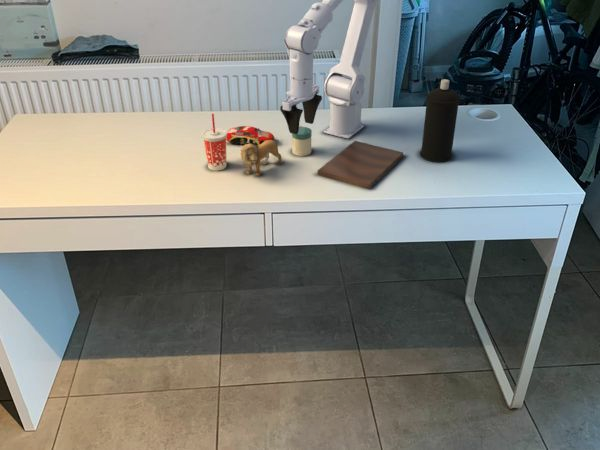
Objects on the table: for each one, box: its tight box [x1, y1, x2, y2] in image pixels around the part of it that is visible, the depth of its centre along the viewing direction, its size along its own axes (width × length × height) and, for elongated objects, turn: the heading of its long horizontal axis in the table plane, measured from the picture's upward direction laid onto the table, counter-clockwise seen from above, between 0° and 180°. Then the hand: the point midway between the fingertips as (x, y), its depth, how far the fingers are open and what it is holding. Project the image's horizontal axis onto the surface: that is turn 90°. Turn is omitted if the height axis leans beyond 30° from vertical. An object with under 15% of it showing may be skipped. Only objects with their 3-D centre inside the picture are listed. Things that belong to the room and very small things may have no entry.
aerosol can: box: [419, 78, 461, 163], centre depth 154 cm, size 8×8×20 cm
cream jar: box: [291, 126, 313, 157], centre depth 160 cm, size 5×5×6 cm
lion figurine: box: [240, 140, 282, 177], centre depth 151 cm, size 15×5×9 cm, turn 150°
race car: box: [226, 125, 276, 146], centre depth 166 cm, size 13×5×4 cm, turn 76°
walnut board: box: [317, 140, 404, 190], centre depth 155 cm, size 20×14×1 cm
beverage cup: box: [201, 113, 228, 171], centre depth 151 cm, size 6×6×14 cm
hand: (301, 127), depth 158 cm, fingers open, 7 cm apart
